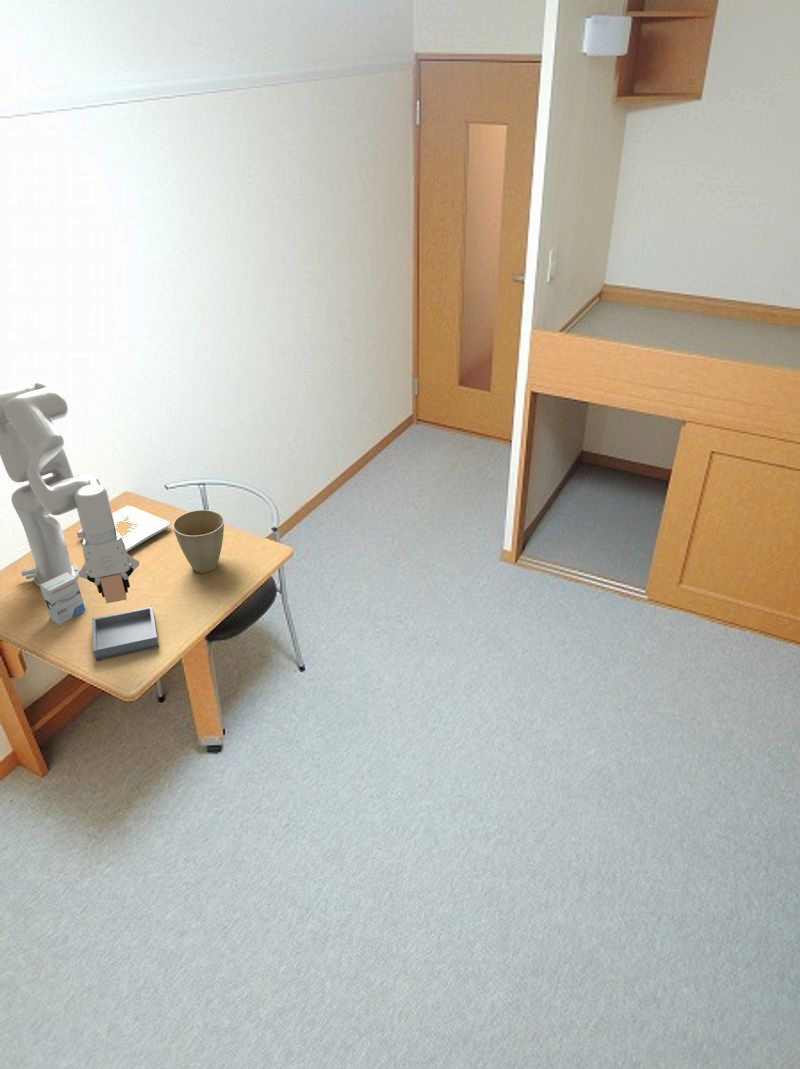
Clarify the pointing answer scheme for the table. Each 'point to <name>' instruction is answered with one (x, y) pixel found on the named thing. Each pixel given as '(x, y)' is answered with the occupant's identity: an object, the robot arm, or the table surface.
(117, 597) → the terracotta block
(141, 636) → the tray
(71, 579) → the ink box
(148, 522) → the salad plate
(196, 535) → the plant pot
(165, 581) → the table surface
